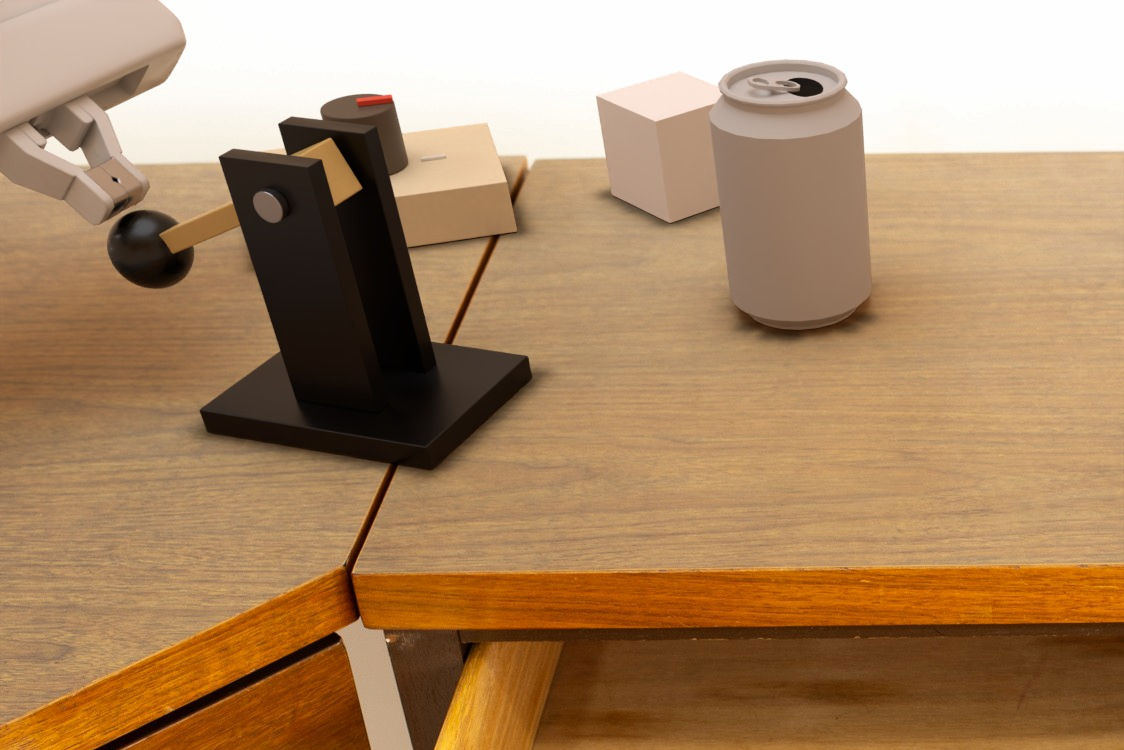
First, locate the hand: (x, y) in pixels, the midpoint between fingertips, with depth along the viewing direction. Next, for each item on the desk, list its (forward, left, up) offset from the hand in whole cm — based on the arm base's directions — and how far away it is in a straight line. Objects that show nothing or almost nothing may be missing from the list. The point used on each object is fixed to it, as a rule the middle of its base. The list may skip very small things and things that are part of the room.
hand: (125, 206), depth 73 cm
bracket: (+8, -6, -9) cm, 14 cm away
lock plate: (+10, +17, -9) cm, 22 cm away
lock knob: (+10, +17, -6) cm, 21 cm away
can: (+30, -3, -9) cm, 32 cm away
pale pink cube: (+27, +14, -9) cm, 32 cm away
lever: (+5, -4, -2) cm, 6 cm away
